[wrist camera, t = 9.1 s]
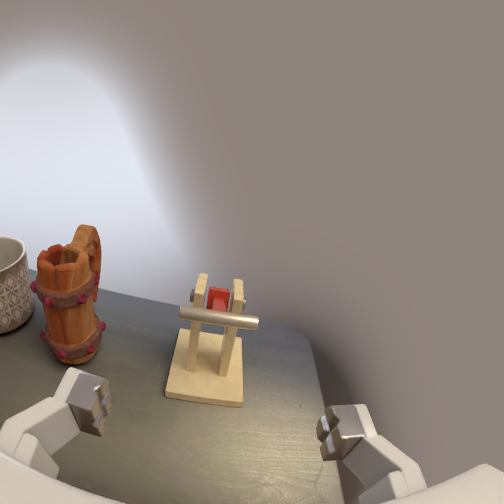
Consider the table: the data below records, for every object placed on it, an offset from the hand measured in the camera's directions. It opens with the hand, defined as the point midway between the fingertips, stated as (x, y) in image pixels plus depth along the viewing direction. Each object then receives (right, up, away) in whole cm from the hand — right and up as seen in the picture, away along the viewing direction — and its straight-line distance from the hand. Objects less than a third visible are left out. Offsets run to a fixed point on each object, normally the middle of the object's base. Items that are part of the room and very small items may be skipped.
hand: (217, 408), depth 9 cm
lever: (-2, -1, +18) cm, 18 cm away
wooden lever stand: (-5, -10, +27) cm, 29 cm away
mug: (-22, -7, +25) cm, 34 cm away
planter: (-38, -4, +23) cm, 44 cm away
